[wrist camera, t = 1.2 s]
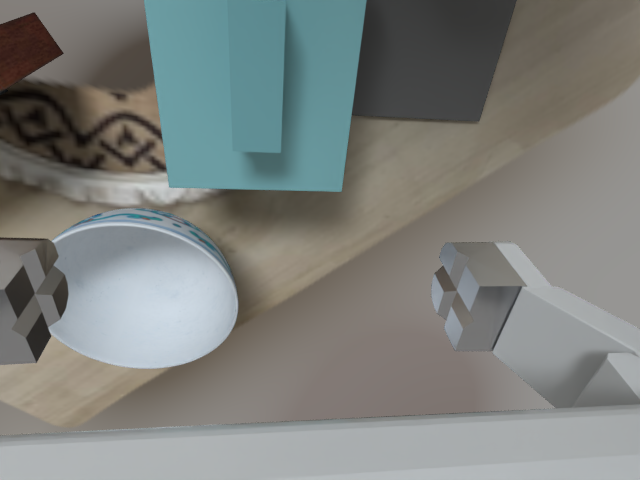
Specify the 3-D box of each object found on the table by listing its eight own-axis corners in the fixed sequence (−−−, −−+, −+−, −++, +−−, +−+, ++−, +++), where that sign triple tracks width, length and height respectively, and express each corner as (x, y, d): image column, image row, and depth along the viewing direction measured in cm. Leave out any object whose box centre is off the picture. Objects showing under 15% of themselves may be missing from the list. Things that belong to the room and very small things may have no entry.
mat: (366, -80, 26) (368, -80, 26) (532, -61, 28) (535, -61, 27) (343, 113, 33) (344, 114, 33) (477, 119, 35) (479, 121, 34)
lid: (142, -121, 20) (104, -136, 15) (367, -94, 21) (395, -101, 17) (176, 167, 28) (159, 213, 24) (335, 172, 30) (348, 216, 25)
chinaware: (275, 252, 40) (277, 310, 34) (165, 327, 45) (148, 391, 38) (149, 134, 33) (121, 182, 26) (29, 238, 37) (-19, 301, 31)
